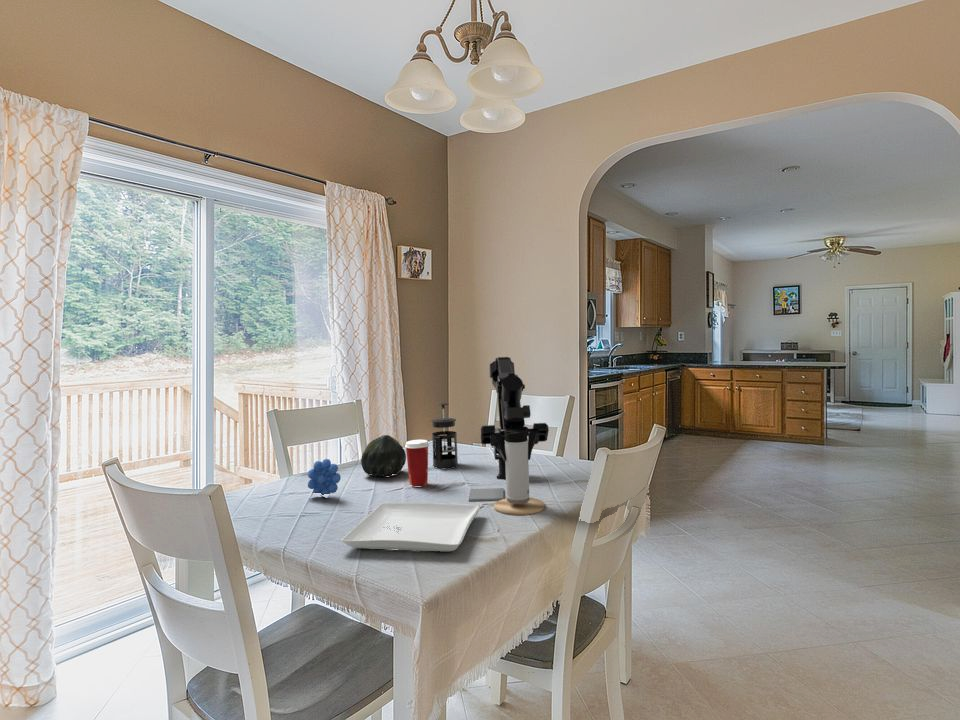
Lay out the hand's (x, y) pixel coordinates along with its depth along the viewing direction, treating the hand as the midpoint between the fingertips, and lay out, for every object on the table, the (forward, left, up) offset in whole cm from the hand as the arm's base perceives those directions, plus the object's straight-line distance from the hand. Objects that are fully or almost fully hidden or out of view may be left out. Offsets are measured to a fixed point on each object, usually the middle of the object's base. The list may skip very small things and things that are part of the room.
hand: (517, 459), depth 143 cm
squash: (-30, -51, -13) cm, 61 cm away
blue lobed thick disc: (-4, -59, -13) cm, 61 cm away
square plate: (+21, -22, -14) cm, 33 cm away
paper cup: (-19, -35, -13) cm, 42 cm away
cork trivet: (-1, 0, -13) cm, 13 cm away
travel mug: (-1, 0, -12) cm, 12 cm away
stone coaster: (-10, -11, -13) cm, 20 cm away
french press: (-43, -33, -13) cm, 56 cm away
